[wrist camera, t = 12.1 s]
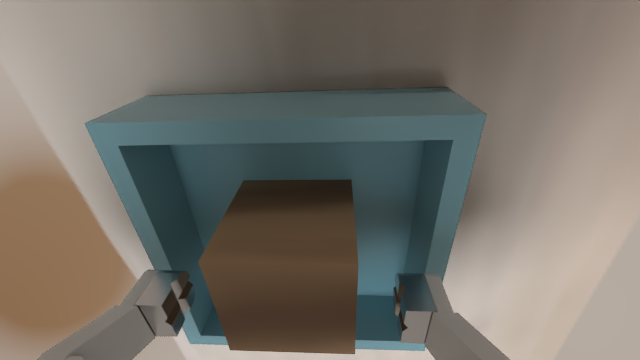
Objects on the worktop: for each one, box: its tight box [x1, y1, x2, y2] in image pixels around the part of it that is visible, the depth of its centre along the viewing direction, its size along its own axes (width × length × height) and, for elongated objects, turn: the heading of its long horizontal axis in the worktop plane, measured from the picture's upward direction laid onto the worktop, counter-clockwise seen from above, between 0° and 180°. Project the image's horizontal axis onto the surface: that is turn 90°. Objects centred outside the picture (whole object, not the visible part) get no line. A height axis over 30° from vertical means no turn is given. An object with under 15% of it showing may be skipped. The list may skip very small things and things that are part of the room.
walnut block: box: [198, 179, 359, 354], centre depth 12 cm, size 5×5×5 cm
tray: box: [85, 87, 486, 351], centre depth 14 cm, size 13×13×4 cm
